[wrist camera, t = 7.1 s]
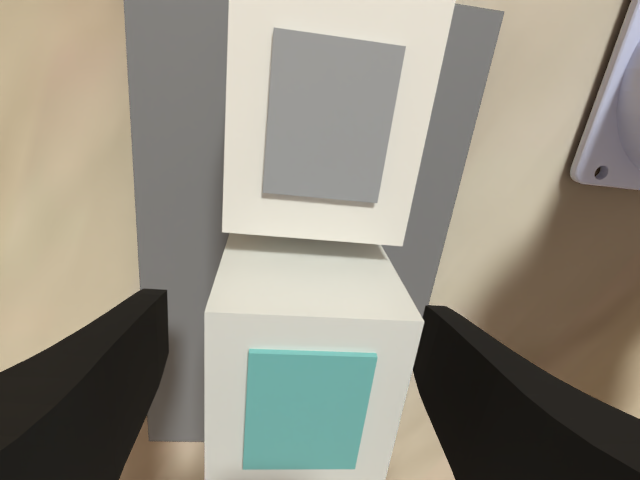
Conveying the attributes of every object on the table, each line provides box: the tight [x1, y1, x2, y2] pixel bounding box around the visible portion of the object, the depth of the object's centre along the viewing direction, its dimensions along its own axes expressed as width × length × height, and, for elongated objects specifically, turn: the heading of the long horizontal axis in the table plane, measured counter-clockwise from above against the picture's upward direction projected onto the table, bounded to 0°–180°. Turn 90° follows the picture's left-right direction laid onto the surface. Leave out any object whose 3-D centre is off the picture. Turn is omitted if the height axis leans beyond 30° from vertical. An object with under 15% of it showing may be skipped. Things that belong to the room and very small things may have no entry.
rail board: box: [124, 0, 504, 442], centre depth 13 cm, size 11×18×6 cm, turn 173°
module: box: [204, 233, 424, 480], centre depth 11 cm, size 4×4×7 cm
